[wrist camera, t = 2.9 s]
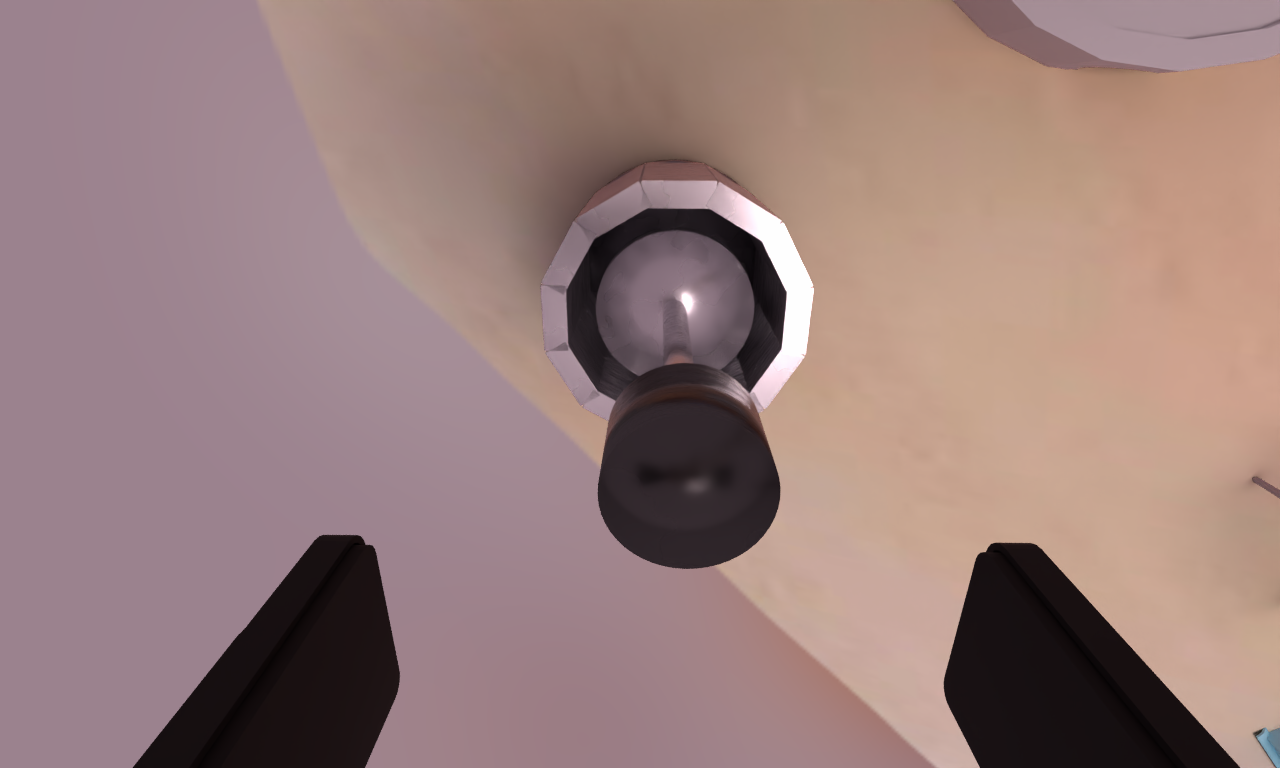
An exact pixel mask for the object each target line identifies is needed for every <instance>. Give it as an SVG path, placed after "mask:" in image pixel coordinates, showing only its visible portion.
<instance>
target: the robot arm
mask: <svg viewBox="0 0 1280 768" xmlns="http://www.w3.org/2000/svg"><path fill="white" fill-rule="evenodd" d="M399 680H400V672H399V666H398V661H397V656H396V651H395V646H394V641H393V636H392V631H391V626H390V621H389V616H388V611H387V606H386V601H385V596H384V591H383V586H382V581H381V576H380V570H379V566H378V561H377V555H376V552H375V549H374V547H373V546H372V545H365V542H364V540H363V539H362V537H361V536H358V535H322V536H319V537H318V538H317V539H316V540H315V541H314V542H313V543H312V545H311V546H310V547H309V548H308V550H307V551H306V552H305V553H304V555H303V556H302V557H301V558H300V560H299V561H298V562H297V563H296V565H295V566H294V567H293V569H292V570H291V571H290V572H289V574H288V575H287V576H286V577H285V579H284V580H283V581H282V582H281V584H280V585H279V586H278V587H277V589H276V590H275V591H274V592H273V594H272V595H271V596H270V598H269V599H268V600H267V601H266V603H265V604H264V605H263V606H262V608H261V609H260V610H259V611H258V613H257V614H256V615H255V617H254V618H253V619H252V620H251V622H250V623H249V624H248V625H247V627H246V628H245V629H244V630H243V631H242V632H241V633H240V634H239V635H238V636H237V637H236V638H235V640H234V641H233V642H232V643H231V645H230V646H229V647H228V648H227V650H226V651H225V652H224V654H223V655H222V656H221V657H220V659H219V660H218V661H217V662H216V664H215V665H214V666H213V668H212V669H211V670H210V671H209V672H208V674H207V675H206V677H204V679H203V680H202V681H201V683H200V684H199V685H198V686H197V688H196V689H195V690H194V691H193V693H192V694H191V695H190V696H189V698H188V699H187V700H186V701H185V703H184V704H183V705H182V706H181V708H180V709H179V710H178V711H177V713H176V714H175V715H174V716H173V718H172V719H171V720H170V721H169V723H168V724H167V725H166V726H165V728H164V729H163V730H162V732H161V733H160V734H159V735H158V737H157V738H156V739H155V740H154V742H153V743H152V744H151V745H150V747H149V748H148V749H147V750H146V752H145V753H144V754H143V756H142V757H141V758H140V759H139V760H138V762H137V763H136V764H135V765H134V767H133V768H365V766H366V764H367V762H368V759H369V757H370V755H371V753H372V750H373V748H374V746H375V743H376V741H377V739H378V737H379V734H380V732H381V730H382V727H383V725H384V723H385V721H386V718H387V716H388V714H389V711H390V709H391V707H392V705H393V702H394V700H395V698H396V695H397V692H398V687H399ZM944 692H945V697H946V701H947V703H948V705H949V708H950V710H951V712H952V714H953V716H954V717H955V719H956V721H957V723H958V725H959V727H960V729H961V731H962V733H963V735H964V737H965V739H966V741H967V743H968V745H969V747H970V749H971V751H972V753H973V755H974V757H975V759H976V761H977V763H978V765H979V767H980V768H1240V767H1239V766H1238V765H1237V763H1236V762H1235V761H1234V760H1233V759H1232V758H1231V757H1230V756H1229V755H1228V754H1227V753H1226V751H1225V750H1224V749H1223V748H1222V747H1221V746H1220V745H1219V744H1218V743H1217V742H1216V740H1215V739H1214V738H1213V737H1212V736H1211V735H1210V734H1209V733H1208V732H1207V731H1206V729H1205V728H1204V727H1203V726H1202V725H1201V724H1200V723H1199V722H1198V721H1197V720H1196V718H1195V717H1194V716H1193V715H1192V714H1191V713H1190V712H1189V711H1188V710H1187V709H1186V707H1185V706H1184V705H1183V704H1182V703H1181V702H1180V701H1179V700H1178V699H1177V698H1176V696H1175V695H1174V694H1173V693H1172V692H1171V691H1170V690H1169V689H1168V688H1167V687H1166V685H1165V684H1164V683H1163V682H1162V681H1161V680H1160V679H1159V678H1158V677H1157V676H1156V674H1155V673H1154V672H1153V671H1152V670H1151V669H1150V668H1149V667H1148V666H1147V665H1146V664H1145V662H1144V661H1143V660H1142V659H1141V658H1140V657H1139V656H1138V655H1137V654H1136V653H1135V651H1134V650H1133V649H1132V648H1131V647H1130V646H1129V645H1128V644H1127V643H1126V642H1125V640H1124V639H1123V638H1122V637H1121V636H1120V635H1119V634H1118V633H1117V632H1116V631H1115V629H1114V628H1113V627H1112V626H1111V625H1110V624H1109V623H1108V622H1107V621H1106V620H1105V618H1104V617H1103V616H1102V615H1101V614H1100V613H1099V612H1098V611H1097V610H1096V609H1095V607H1094V606H1093V605H1092V604H1091V603H1090V602H1089V601H1088V600H1087V599H1086V598H1085V596H1084V595H1083V594H1082V593H1081V592H1080V591H1079V590H1078V589H1077V588H1076V587H1075V585H1074V584H1073V583H1072V582H1071V581H1070V580H1069V579H1068V578H1067V577H1066V576H1065V574H1064V573H1063V572H1062V571H1061V570H1060V569H1059V568H1058V567H1057V566H1056V565H1055V564H1054V562H1053V561H1052V560H1051V559H1050V558H1049V557H1048V556H1047V555H1046V554H1045V553H1044V551H1043V550H1042V549H1041V548H1039V547H1038V546H1037V545H1035V544H1032V543H993V544H991V545H990V546H989V547H988V549H987V551H986V552H982V553H980V554H979V555H978V556H977V558H976V561H975V564H974V568H973V572H972V576H971V580H970V583H969V587H968V591H967V595H966V598H965V602H964V606H963V610H962V613H961V617H960V621H959V625H958V628H957V632H956V636H955V640H954V644H953V647H952V651H951V655H950V659H949V662H948V666H947V670H946V674H945V677H944Z"/></svg>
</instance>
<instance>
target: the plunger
mask: <svg viewBox="0 0 1280 768" xmlns="http://www.w3.org/2000/svg"><path fill="white" fill-rule="evenodd" d="M753 316H754V297H753V291H752V287H751V284H750V281H749V279H748V276H747V274H746V272H745V270H744V268H743V266H742V265H741V263H740V261H739V260H738V258H737V257H736V256H735V255H734V254H733V252H732V251H731V250H730V249H729V248H728V247H726V246H725V245H724V244H723V243H721V242H720V241H719V240H717V239H716V238H714V237H712V236H710V235H708V234H706V233H703V232H700V231H697V230H693V229H688V228H664V229H658V230H654V231H651V232H648V233H645V234H643V235H641V236H639V237H637V238H635V239H634V240H632V241H631V242H629V243H628V244H627V245H625V246H624V247H623V248H622V249H621V250H620V251H619V252H618V253H617V254H616V255H615V256H614V258H613V259H612V260H611V262H610V263H609V265H608V266H607V268H606V271H605V273H604V275H603V277H602V280H601V283H600V286H599V289H598V294H597V299H596V317H597V323H598V328H599V331H600V334H601V336H602V339H603V341H604V343H605V345H606V347H607V348H608V350H609V351H610V352H611V354H612V355H613V356H614V357H615V358H616V359H617V360H618V362H619V363H621V364H622V365H623V366H624V367H625V368H627V369H628V370H630V371H631V372H633V373H634V374H636V375H639V377H638V378H636V379H635V380H634V381H632V382H631V383H630V384H629V385H628V386H627V387H626V388H625V389H624V390H623V391H622V393H621V394H620V395H619V397H618V398H617V400H616V402H615V404H614V406H613V408H612V411H611V414H610V417H609V422H608V428H607V434H606V440H605V446H604V452H603V458H602V464H601V470H600V477H599V483H598V501H599V507H600V511H601V515H602V517H603V519H604V522H605V524H606V525H607V527H608V528H609V530H610V532H611V533H612V534H613V535H614V537H615V538H616V539H617V540H618V541H619V542H620V543H621V544H622V545H623V546H624V547H626V548H627V549H628V550H629V551H631V552H632V553H634V554H636V555H637V556H639V557H641V558H643V559H645V560H647V561H650V562H652V563H655V564H659V565H662V566H667V567H672V568H682V569H690V568H691V569H693V568H703V567H709V566H714V565H718V564H721V563H724V562H726V561H729V560H731V559H733V558H735V557H737V556H739V555H741V554H742V553H744V552H746V551H747V550H749V549H750V548H751V547H752V546H753V545H755V544H756V543H757V542H758V541H759V540H760V539H761V538H762V537H763V536H764V534H765V533H766V531H767V530H768V529H769V527H770V526H771V524H772V522H773V520H774V518H775V515H776V512H777V510H778V506H779V501H780V481H779V476H778V472H777V469H776V466H775V463H774V459H773V456H772V453H771V450H770V447H769V444H768V441H767V438H766V435H765V432H764V429H763V426H762V423H761V420H760V417H759V413H758V410H757V408H756V406H755V403H754V401H753V399H752V398H751V396H750V395H749V393H748V392H747V391H746V390H745V388H744V387H743V386H742V385H741V384H740V383H738V382H737V381H736V380H735V379H734V378H732V377H731V376H729V375H728V374H726V373H724V372H722V371H720V369H722V368H723V367H724V366H725V365H727V364H728V363H729V362H730V361H731V360H732V359H733V358H734V357H735V356H736V355H737V353H738V352H739V351H740V350H741V348H742V346H743V345H744V343H745V341H746V339H747V337H748V335H749V332H750V329H751V326H752V322H753Z"/></svg>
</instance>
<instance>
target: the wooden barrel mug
mask: <svg viewBox="0 0 1280 768" xmlns="http://www.w3.org/2000/svg"><path fill="white" fill-rule="evenodd" d="M664 228H688V229H693V230H697V231H700V232H703V233H706V234H708V235H710V236H712V237H714V238H716V239H717V240H719V241H720V242H721V243H723V244H724V245H725V246H726V247H728V248H729V249H730V250H731V251H732V252H733V254H734V255H735V256H736V257H737V258H738V260H739V261H740V263H741V265H742V266H743V268H744V270H745V272H746V274H747V276H748V279H749V281H750V284H751V287H752V291H753V297H754V316H753V322H752V326H751V329H750V332H749V335H748V337H747V339H746V341H745V343H744V345H743V346H742V348H741V350H740V351H739V352H738V353H737V355H736V356H735V357H734V358H733V359H732V360H731V361H730V362H729V363H728V364H727V365H725V366H724V367H723V368H722V369H720V371H722V372H724V373H726V374H728V375H729V376H731V377H732V378H734V379H735V380H736V381H737V382H738V383H740V384H741V385H742V386H743V387H744V388H745V390H746V391H747V392H748V393H749V395H750V396H751V398H752V399H753V401H754V403H755V406H756V408H757V410H758V413H759V412H761V411H764V409H763V407H764V408H767V407H768V405H769V404H770V403H771V401H772V400H773V399H774V397H775V396H776V395H777V393H778V392H779V391H780V389H781V388H782V387H783V385H784V384H785V383H786V381H787V380H788V379H789V377H790V376H791V374H792V373H793V372H794V370H795V369H796V368H797V366H798V365H799V364H800V362H801V361H802V360H803V358H804V357H805V356H804V354H806V348H807V340H808V331H809V323H810V314H811V306H812V297H813V289H814V288H813V287H812V286H813V284H812V282H811V280H810V278H809V276H808V274H807V272H806V269H805V267H804V265H803V263H802V261H801V259H800V257H799V255H798V252H797V250H796V248H795V246H794V244H793V242H792V240H791V238H790V236H789V233H788V231H787V229H786V227H785V225H784V223H783V222H782V221H781V220H780V219H779V218H778V217H777V216H776V215H775V214H774V213H773V212H771V211H770V210H769V209H768V208H767V207H766V206H765V205H764V204H763V203H761V202H760V201H759V200H758V199H757V198H756V197H755V196H754V195H753V194H751V193H750V192H749V191H747V190H746V189H744V188H743V187H741V186H740V185H738V184H737V183H736V182H735V181H734V180H732V179H731V178H729V177H728V176H727V175H725V174H723V173H721V172H720V171H718V170H716V169H714V168H711V167H709V166H708V165H706V164H705V163H704V164H703V163H696V162H691V161H685V160H660V161H655V162H646V164H645V163H643V164H641V165H640V166H637V167H634V168H632V169H630V170H628V171H626V172H624V173H622V174H621V175H619V176H618V177H616V178H615V179H613V180H612V181H611V182H609V183H608V184H607V185H606V186H605V187H603V188H602V189H600V190H598V191H597V192H596V193H595V194H594V195H593V197H592V198H591V199H590V201H589V202H588V203H587V204H586V206H585V207H584V208H583V210H582V211H581V212H580V213H579V215H578V216H577V217H576V219H575V220H574V221H573V223H572V225H571V227H570V229H569V231H568V232H567V234H566V236H565V238H564V240H563V242H562V244H561V246H560V248H559V250H558V251H557V253H556V255H555V257H554V259H553V261H552V263H551V265H550V267H549V268H548V270H547V272H546V274H545V276H544V278H543V280H542V282H541V283H542V284H541V302H542V318H543V334H544V350H545V351H546V355H547V356H548V358H549V359H550V361H551V362H552V364H553V365H554V367H555V368H556V370H557V371H558V373H559V374H560V376H561V377H562V379H563V380H564V382H565V383H566V385H567V386H568V388H569V389H570V391H571V392H572V394H573V395H574V397H575V398H576V400H577V401H578V403H579V404H580V406H581V405H583V408H585V409H586V410H588V411H590V412H592V413H594V414H596V415H598V416H600V417H602V418H604V419H605V420H607V421H609V417H610V414H611V411H612V408H613V406H614V404H615V402H616V400H617V398H618V397H619V395H620V394H621V393H622V391H623V390H624V389H625V388H626V387H627V386H628V385H629V384H630V383H631V382H632V381H634V380H635V379H636V378H638V377H639V375H636V374H634V373H633V372H631V371H630V370H628V369H627V368H625V367H624V366H623V365H622V364H621V363H619V362H618V360H617V359H616V358H615V357H614V356H613V355H612V354H611V352H610V351H609V350H608V348H607V347H606V345H605V343H604V341H603V339H602V336H601V334H600V331H599V328H598V323H597V317H596V299H597V294H598V289H599V286H600V283H601V280H602V277H603V275H604V273H605V271H606V268H607V266H608V265H609V263H610V262H611V260H612V259H613V258H614V256H615V255H616V254H617V253H618V252H619V251H620V250H621V249H622V248H623V247H624V246H625V245H627V244H628V243H629V242H631V241H632V240H634V239H635V238H637V237H639V236H641V235H643V234H645V233H648V232H651V231H654V230H658V229H664Z"/></svg>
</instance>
